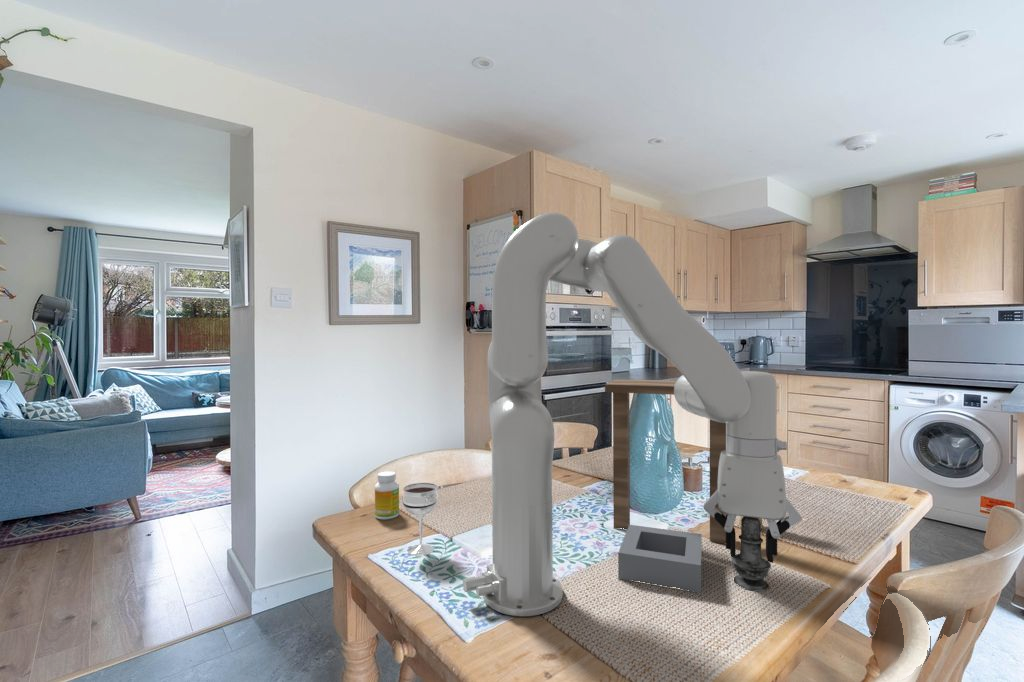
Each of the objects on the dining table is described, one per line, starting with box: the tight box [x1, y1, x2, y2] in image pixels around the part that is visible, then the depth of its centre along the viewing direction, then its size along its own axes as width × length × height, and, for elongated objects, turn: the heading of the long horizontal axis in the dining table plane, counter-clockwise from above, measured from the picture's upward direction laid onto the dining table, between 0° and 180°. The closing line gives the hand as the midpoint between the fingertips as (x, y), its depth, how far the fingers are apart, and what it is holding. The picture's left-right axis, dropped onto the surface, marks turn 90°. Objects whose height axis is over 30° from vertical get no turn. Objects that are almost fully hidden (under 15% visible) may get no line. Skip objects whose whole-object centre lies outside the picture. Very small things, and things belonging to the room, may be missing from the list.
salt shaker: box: [730, 517, 772, 592], centre depth 81 cm, size 6×6×12 cm
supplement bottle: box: [374, 471, 400, 520], centre depth 112 cm, size 5×5×10 cm
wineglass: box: [402, 482, 439, 557], centre depth 94 cm, size 7×7×12 cm
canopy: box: [604, 378, 726, 545], centre depth 97 cm, size 12×22×32 cm, turn 68°
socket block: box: [617, 524, 703, 594], centre depth 86 cm, size 13×13×4 cm
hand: (750, 555), depth 81 cm, fingers open, 4 cm apart
